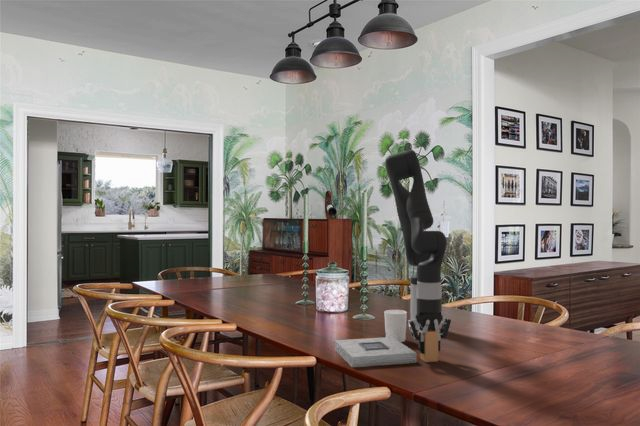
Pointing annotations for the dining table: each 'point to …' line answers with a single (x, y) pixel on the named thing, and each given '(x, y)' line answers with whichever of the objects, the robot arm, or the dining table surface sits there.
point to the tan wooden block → (430, 346)
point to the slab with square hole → (374, 352)
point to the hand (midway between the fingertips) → (429, 352)
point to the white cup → (395, 324)
